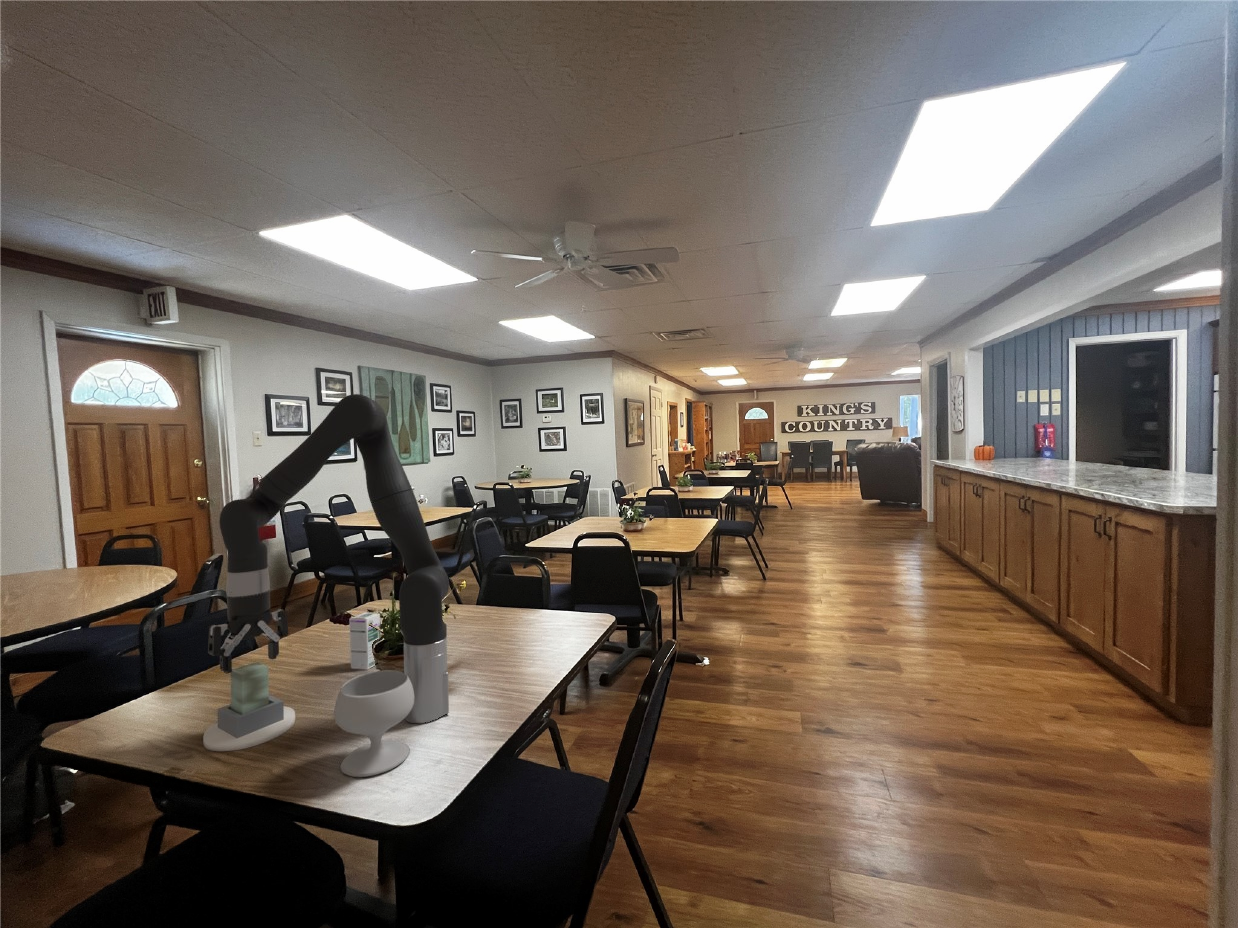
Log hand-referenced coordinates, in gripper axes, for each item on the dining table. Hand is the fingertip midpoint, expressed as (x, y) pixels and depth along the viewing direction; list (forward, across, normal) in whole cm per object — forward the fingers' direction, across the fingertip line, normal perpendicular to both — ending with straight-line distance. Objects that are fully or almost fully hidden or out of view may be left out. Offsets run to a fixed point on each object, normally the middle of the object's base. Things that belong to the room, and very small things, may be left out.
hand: (250, 665), depth 109 cm
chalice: (+15, +6, -34) cm, 37 cm away
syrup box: (+14, +34, +12) cm, 39 cm away
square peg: (+13, 0, 0) cm, 13 cm away
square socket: (+14, 0, 0) cm, 14 cm away
